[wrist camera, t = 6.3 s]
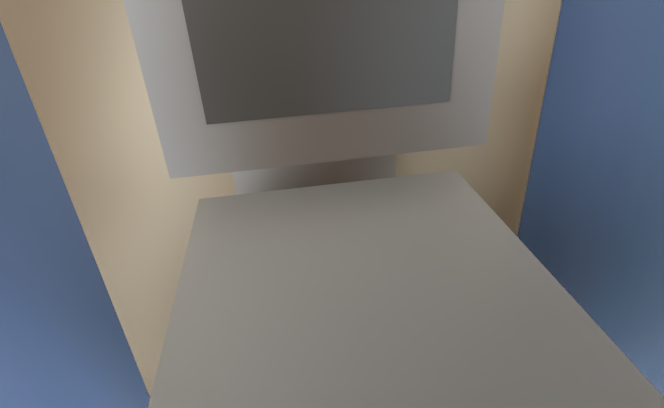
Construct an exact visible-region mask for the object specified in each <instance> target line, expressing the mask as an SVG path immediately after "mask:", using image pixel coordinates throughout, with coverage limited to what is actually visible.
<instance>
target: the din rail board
mask: <svg viewBox="0 0 664 408" xmlns="http://www.w3.org/2000/svg"><path fill="white" fill-rule="evenodd" d="M561 3H562V0H0V22H1V24H2V27H3V29H4V32H5V35H6V37H7V40H8V42H9V45H10V47H11V50H12V52H13V55H14V57H15V60H16V62H17V65H18V67H19V70H20V72H21V75H22V77H23V80H24V82H25V85H26V87H27V90H28V92H29V95H30V97H31V100H32V102H33V105H34V107H35V110H36V112H37V115H38V117H39V120H40V122H41V125H42V127H43V130H44V132H45V135H46V137H47V140H48V142H49V145H50V148H51V150H52V153H53V155H54V158H55V160H56V163H57V165H58V168H59V170H60V173H61V175H62V178H63V180H64V183H65V185H66V188H67V190H68V193H69V195H70V198H71V200H72V203H73V205H74V208H75V210H76V213H77V215H78V218H79V220H80V223H81V225H82V228H83V230H84V233H85V235H86V238H87V240H88V243H89V245H90V248H91V250H92V253H93V256H94V258H95V261H96V263H97V266H98V268H99V271H100V273H101V276H102V278H103V281H104V283H105V286H106V288H107V291H108V293H109V296H110V298H111V301H112V303H113V306H114V308H115V311H116V313H117V316H118V318H119V321H120V323H121V326H122V328H123V331H124V333H125V336H126V338H127V341H128V343H129V346H130V348H131V351H132V353H133V356H134V358H135V361H136V363H137V366H138V369H139V371H140V374H141V376H142V379H143V381H144V384H145V386H146V389H147V391H148V394H149V396H150V397H151V393H152V389H153V385H154V381H155V377H156V373H157V369H158V364H159V360H160V356H161V352H162V348H163V344H164V340H165V336H166V332H167V328H168V323H169V319H170V315H171V311H172V307H173V303H174V299H175V295H176V291H177V287H178V283H179V278H180V274H181V270H182V266H183V262H184V258H185V254H186V250H187V246H188V242H189V237H190V233H191V229H192V225H193V221H194V217H195V213H196V209H197V205H198V201H199V199H204V198H213V197H222V196H231V195H240V194H249V193H257V192H266V191H275V190H284V189H293V188H302V187H311V186H319V185H328V184H337V183H346V182H355V181H364V180H373V179H381V178H390V177H399V176H408V175H417V174H426V173H435V172H443V171H452V170H457V171H458V173H459V174H460V175H461V176H462V177H463V178H464V179H465V180H466V181H467V182H468V183H469V185H470V186H471V187H472V188H473V189H474V190H475V191H476V192H477V193H478V194H479V196H480V197H481V198H482V199H483V200H484V201H485V202H486V203H487V204H488V205H489V206H490V208H491V209H492V210H493V211H494V212H495V213H496V214H497V215H498V216H499V217H500V218H501V220H502V221H503V222H504V223H505V224H506V225H507V226H508V227H509V228H510V229H511V230H512V232H513V233H514V234H515V235H516V236H518V231H519V225H520V220H521V215H522V209H523V204H524V199H525V194H526V188H527V183H528V178H529V172H530V167H531V162H532V156H533V151H534V146H535V141H536V135H537V130H538V125H539V119H540V114H541V109H542V103H543V98H544V93H545V88H546V82H547V77H548V72H549V66H550V61H551V56H552V50H553V45H554V40H555V35H556V29H557V24H558V19H559V13H560V8H561Z"/></svg>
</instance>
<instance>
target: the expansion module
mask: <svg viewBox="0 0 664 408" xmlns="http://www.w3.org/2000/svg"><path fill="white" fill-rule="evenodd" d="M148 408H664V397H663V396H662V394H661V393H660V392H659V391H658V390H657V389H656V388H655V387H654V386H653V385H652V384H651V382H650V381H649V380H648V379H647V378H646V377H645V376H644V375H643V374H642V373H641V372H640V370H639V369H638V368H637V367H636V366H635V365H634V364H633V363H632V362H631V361H630V359H629V358H628V357H627V356H626V355H625V354H624V353H623V352H622V351H621V350H620V349H619V347H618V346H617V345H616V344H615V343H614V342H613V341H612V340H611V339H610V338H609V337H608V335H607V334H606V333H605V332H604V331H603V330H602V329H601V328H600V327H599V326H598V325H597V323H596V322H595V321H594V320H593V319H592V318H591V317H590V316H589V315H588V314H587V312H586V311H585V310H584V309H583V308H582V307H581V306H580V305H579V304H578V303H577V302H576V300H575V299H574V298H573V297H572V296H571V295H570V294H569V293H568V292H567V291H566V290H565V288H564V287H563V286H562V285H561V284H560V283H559V282H558V281H557V280H556V279H555V277H554V276H553V275H552V274H551V273H550V272H549V271H548V270H547V269H546V268H545V267H544V265H543V264H542V263H541V262H540V261H539V260H538V259H537V258H536V257H535V256H534V255H533V253H532V252H531V251H530V250H529V249H528V248H527V247H526V246H525V245H524V244H523V243H522V241H521V240H520V239H519V238H518V237H517V236H516V235H515V234H514V233H513V232H512V230H511V229H510V228H509V227H508V226H507V225H506V224H505V223H504V222H503V221H502V220H501V218H500V217H499V216H498V215H497V214H496V213H495V212H494V211H493V210H492V209H491V208H490V206H489V205H488V204H487V203H486V202H485V201H484V200H483V199H482V198H481V197H480V196H479V194H478V193H477V192H476V191H475V190H474V189H473V188H472V187H471V186H470V185H469V183H468V182H467V181H466V180H465V179H464V178H463V177H462V176H461V175H460V174H459V173H458V171H457V170H452V171H443V172H435V173H426V174H417V175H408V176H399V177H390V178H381V179H373V180H364V181H355V182H346V183H337V184H328V185H319V186H311V187H302V188H293V189H284V190H275V191H266V192H257V193H249V194H240V195H231V196H222V197H213V198H204V199H199V201H198V205H197V209H196V213H195V217H194V221H193V225H192V229H191V233H190V237H189V242H188V246H187V250H186V254H185V258H184V262H183V266H182V270H181V274H180V278H179V283H178V287H177V291H176V295H175V299H174V303H173V307H172V311H171V315H170V319H169V323H168V328H167V332H166V336H165V340H164V344H163V348H162V352H161V356H160V360H159V364H158V369H157V373H156V377H155V381H154V385H153V389H152V393H151V397H150V401H149V405H148Z"/></svg>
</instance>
